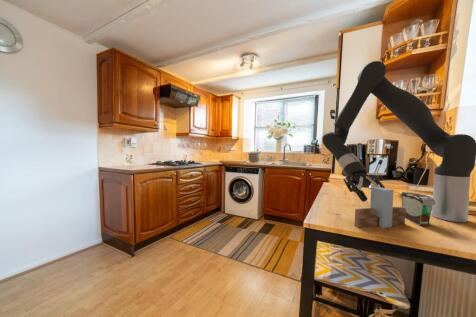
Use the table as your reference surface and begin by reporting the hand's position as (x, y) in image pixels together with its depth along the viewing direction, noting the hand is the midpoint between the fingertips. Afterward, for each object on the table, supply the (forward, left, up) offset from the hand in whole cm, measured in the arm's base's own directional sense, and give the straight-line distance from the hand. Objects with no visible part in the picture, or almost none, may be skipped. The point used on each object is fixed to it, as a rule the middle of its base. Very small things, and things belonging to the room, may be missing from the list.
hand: (375, 200), depth 67 cm
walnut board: (0, +2, -8) cm, 9 cm away
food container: (-18, +2, -8) cm, 20 cm away
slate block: (0, +2, -8) cm, 9 cm away
